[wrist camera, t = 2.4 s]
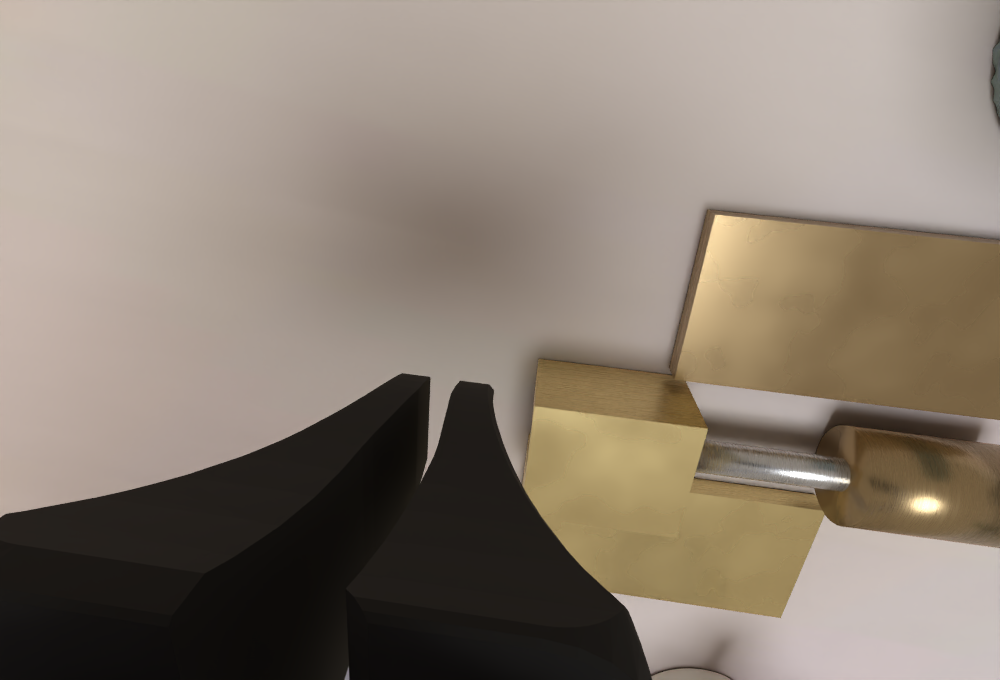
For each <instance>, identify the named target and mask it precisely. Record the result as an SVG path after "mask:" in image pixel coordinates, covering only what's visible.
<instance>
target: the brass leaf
mask: <svg viewBox="0 0 1000 680" xmlns="http://www.w3.org/2000/svg"><path fill="white" fill-rule="evenodd" d="M707 431H708V428H707V425H706V423H705V421H704V419H703V417H702V415H701V413H700V411H699V409H698V407H697V404H696V402H695V400H694V398H693V396H692V394H691V392H690V390H689V388H688V386H687V383H686V381H681V380H674V378H673V375H666V374H658V373H650V372H642V371H634V370H626V369H618V368H610V367H602V366H594V365H586V364H577V363H569V362H561V361H553V360H545V359H538V367H537V375H536V383H535V393H534V405H533V416H532V426H531V434H529V437H528V444H527V452H526V460H525V467H524V475H523V483H522V486H523V488H524V489H525V491H526V493H527V495H528V496H529V498H530V500H531V501H532V503H533V504H534V506H535V507H536V509H537V511H538V512H539V514H540V515H541V517H542V518H543V519H544V521H545V522H546V523H547V525H548V526H549V527H550V529H551V530H552V531H553V532H554V534H555V535H556V536H557V538H558V539H559V540H560V542H561V543H562V544H563V546H564V547H565V548H566V549H567V551H568V552H569V553H570V554H571V555H572V556H573V557H574V558H575V560H576V561H577V562H578V563H579V564H580V565H581V566H582V567H583V568H584V569H585V570H586V571H587V572H588V573H589V574H590V575H591V576H592V577H593V578H594V579H596V580H597V581H598V582H599V583H600V584H601V585H602V586H603V587H604V588H605V589H606V590H607V591H609V592H611V593H618V594H624V595H631V596H638V597H644V598H651V599H658V600H664V601H671V602H678V603H685V604H691V605H698V606H705V607H711V608H718V609H725V610H732V611H738V612H745V613H752V614H758V615H765V616H772V617H778V618H781V616H782V613H783V611H784V609H785V606H786V604H787V602H788V599H789V597H790V595H791V592H792V590H793V588H794V585H795V583H796V581H797V578H798V576H799V574H800V571H801V569H802V566H803V564H804V562H805V559H806V557H807V555H808V552H809V550H810V548H811V545H812V543H813V541H814V538H815V536H816V534H817V531H818V529H819V527H820V524H821V522H822V520H823V517H824V515H825V514H824V512H823V511H822V509H821V507H820V505H819V502H818V500H817V497H816V496H815V495H814V494H807V493H799V492H792V491H785V490H777V489H770V488H762V487H755V486H747V485H740V484H733V483H725V482H718V481H710V480H703V479H696V478H694V476H695V472H696V469H697V465H698V462H699V458H700V455H701V452H702V448H703V445H704V441H705V438H706V434H707Z"/></svg>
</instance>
